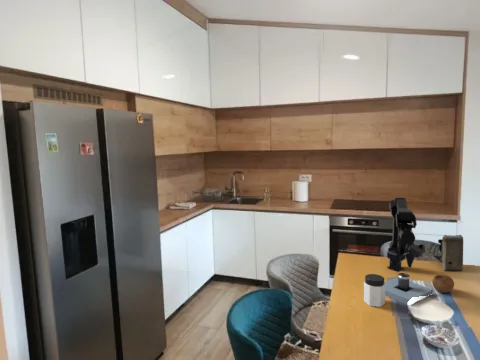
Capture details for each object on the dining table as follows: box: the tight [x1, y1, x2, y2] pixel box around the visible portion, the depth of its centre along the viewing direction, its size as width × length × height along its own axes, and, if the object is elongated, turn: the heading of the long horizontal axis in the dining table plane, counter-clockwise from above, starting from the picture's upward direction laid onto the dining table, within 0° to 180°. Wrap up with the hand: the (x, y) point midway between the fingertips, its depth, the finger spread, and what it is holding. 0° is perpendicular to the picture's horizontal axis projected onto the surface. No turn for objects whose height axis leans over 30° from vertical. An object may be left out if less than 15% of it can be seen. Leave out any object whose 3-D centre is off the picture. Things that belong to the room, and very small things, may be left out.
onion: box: [431, 273, 455, 294], centre depth 161 cm, size 9×9×10 cm
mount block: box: [384, 276, 434, 305], centre depth 162 cm, size 18×18×2 cm
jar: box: [363, 273, 386, 308], centre depth 153 cm, size 9×8×12 cm
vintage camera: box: [433, 234, 464, 272], centre depth 190 cm, size 10×16×20 cm, turn 174°
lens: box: [397, 272, 411, 292], centre depth 161 cm, size 5×5×9 cm
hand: (403, 269), depth 160 cm, fingers open, 9 cm apart
